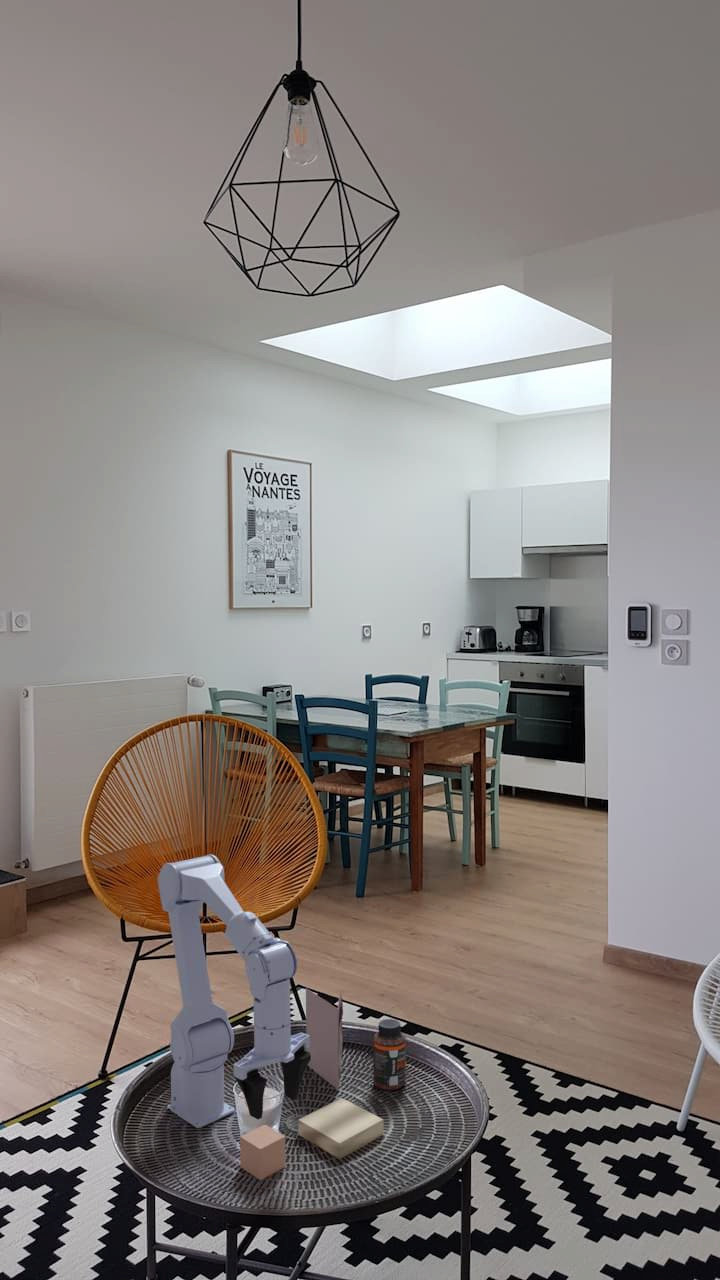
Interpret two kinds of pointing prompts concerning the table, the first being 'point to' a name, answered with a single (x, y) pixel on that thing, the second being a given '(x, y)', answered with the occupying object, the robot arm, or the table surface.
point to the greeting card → (324, 1036)
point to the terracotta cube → (262, 1152)
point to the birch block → (340, 1127)
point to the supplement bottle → (389, 1056)
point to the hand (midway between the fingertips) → (273, 1106)
